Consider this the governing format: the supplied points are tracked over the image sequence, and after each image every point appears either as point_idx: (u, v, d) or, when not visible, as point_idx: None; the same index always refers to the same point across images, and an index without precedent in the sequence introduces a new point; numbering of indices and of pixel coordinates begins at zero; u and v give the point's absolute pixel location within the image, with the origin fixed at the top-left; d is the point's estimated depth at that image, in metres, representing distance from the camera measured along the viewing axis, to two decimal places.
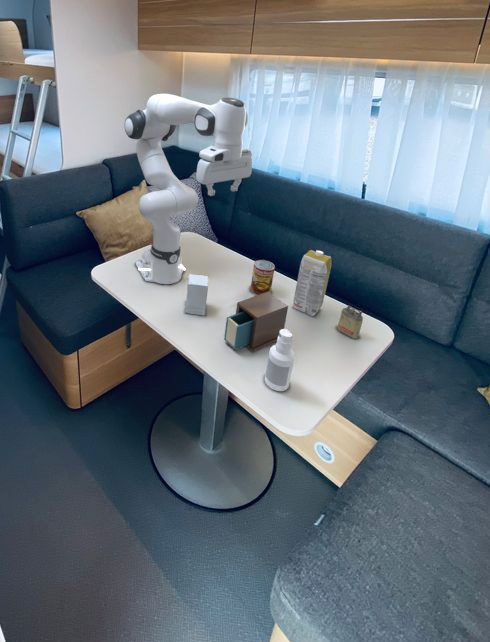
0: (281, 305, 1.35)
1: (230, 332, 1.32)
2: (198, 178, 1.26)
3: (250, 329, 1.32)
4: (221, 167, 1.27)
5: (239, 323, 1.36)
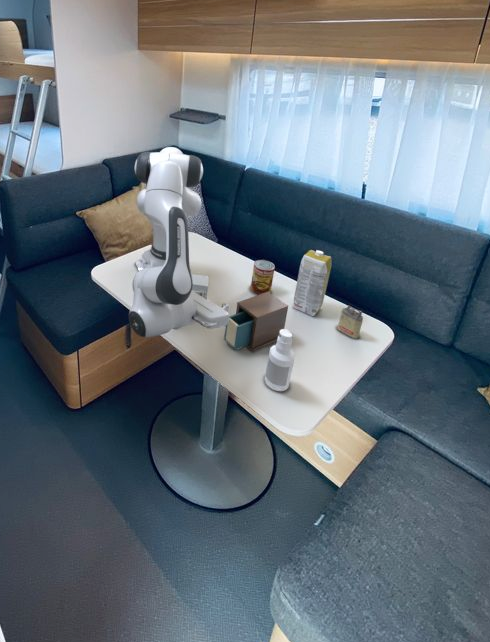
0: (281, 305, 1.35)
1: (230, 332, 1.32)
2: None
3: (250, 329, 1.32)
4: None
5: (239, 323, 1.36)
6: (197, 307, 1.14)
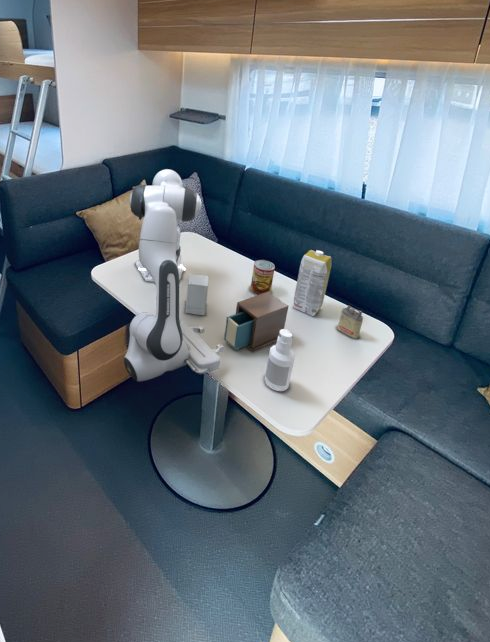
0: (281, 305, 1.35)
1: (230, 332, 1.32)
2: None
3: (250, 329, 1.32)
4: None
5: (239, 323, 1.36)
6: (190, 350, 1.20)
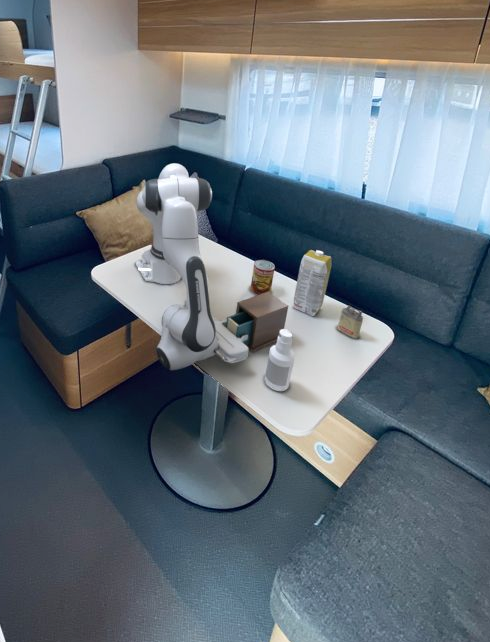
0: (281, 305, 1.35)
1: None
2: None
3: (250, 329, 1.32)
4: None
5: (239, 323, 1.36)
6: (219, 341, 1.25)
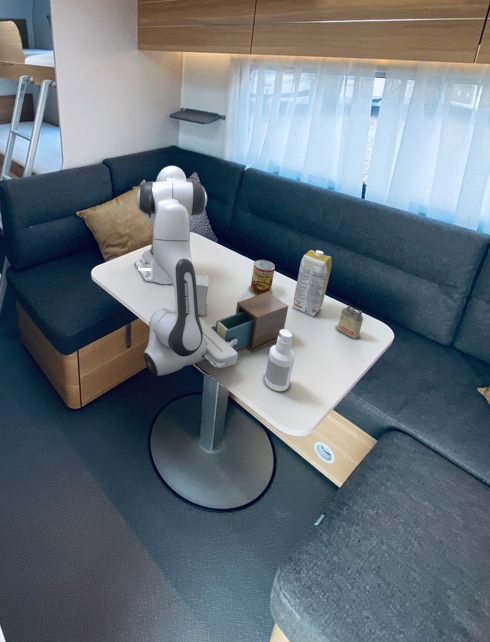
0: (281, 305, 1.35)
1: None
2: None
3: (240, 333, 1.30)
4: None
5: (229, 327, 1.34)
6: (208, 345, 1.23)
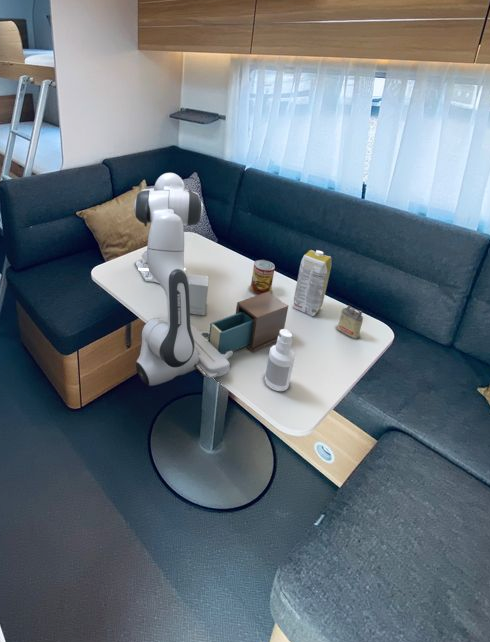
0: (281, 305, 1.35)
1: (213, 338, 1.29)
2: None
3: (234, 335, 1.29)
4: None
5: (223, 329, 1.33)
6: (200, 355, 1.23)
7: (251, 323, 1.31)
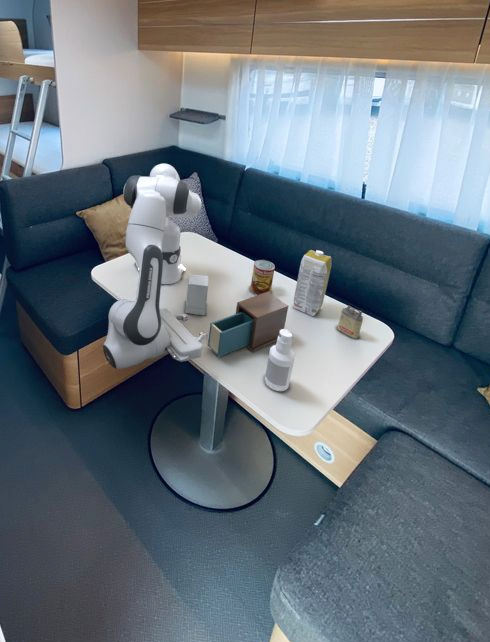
0: (281, 305, 1.35)
1: (213, 338, 1.29)
2: None
3: (234, 335, 1.29)
4: None
5: (223, 329, 1.33)
6: (172, 338, 1.17)
7: (251, 323, 1.31)
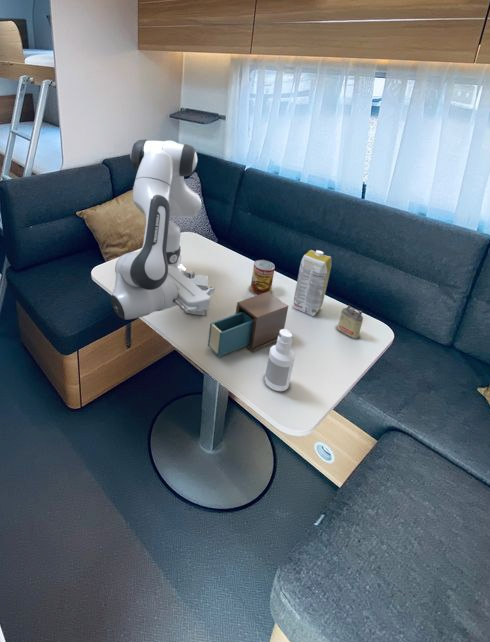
0: (281, 305, 1.35)
1: (213, 338, 1.29)
2: None
3: (234, 335, 1.29)
4: None
5: (223, 329, 1.33)
6: (179, 290, 1.17)
7: (251, 323, 1.31)
